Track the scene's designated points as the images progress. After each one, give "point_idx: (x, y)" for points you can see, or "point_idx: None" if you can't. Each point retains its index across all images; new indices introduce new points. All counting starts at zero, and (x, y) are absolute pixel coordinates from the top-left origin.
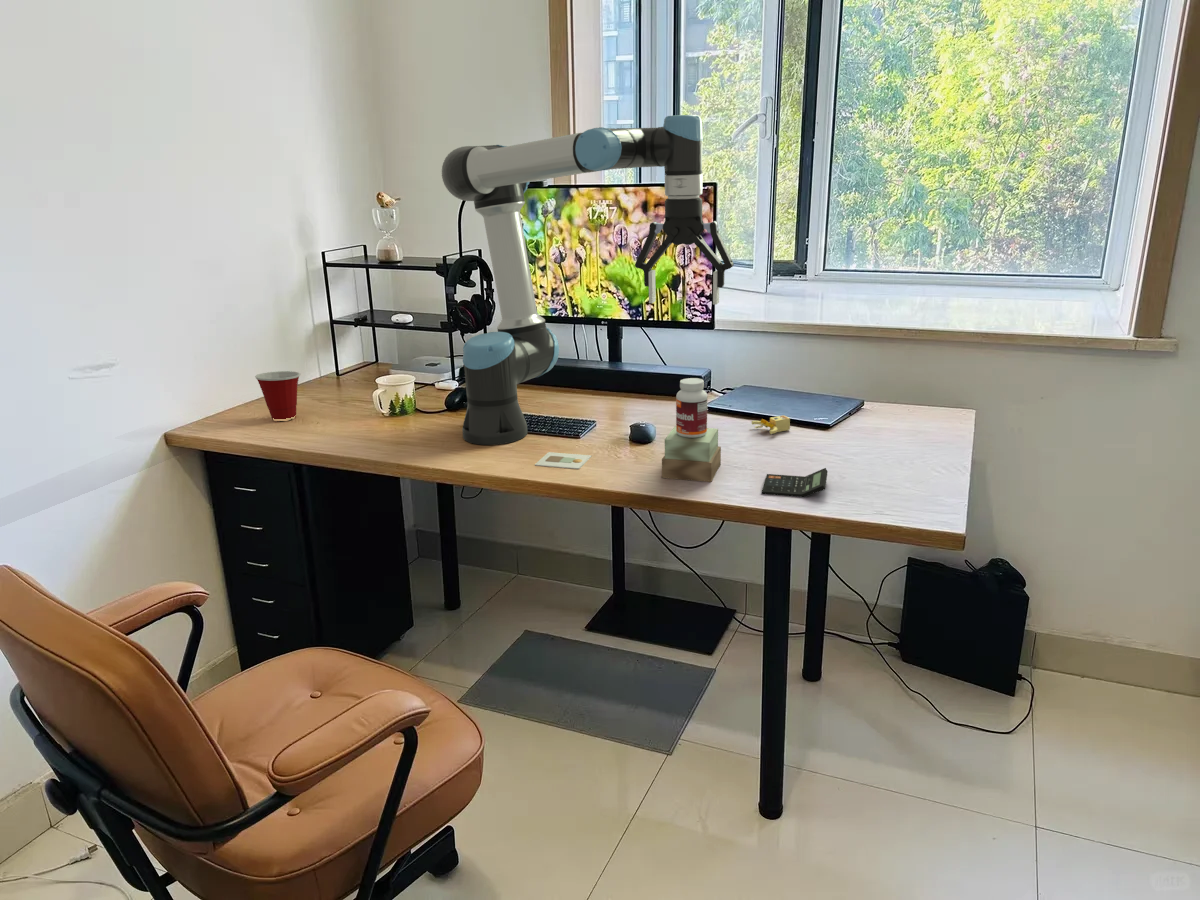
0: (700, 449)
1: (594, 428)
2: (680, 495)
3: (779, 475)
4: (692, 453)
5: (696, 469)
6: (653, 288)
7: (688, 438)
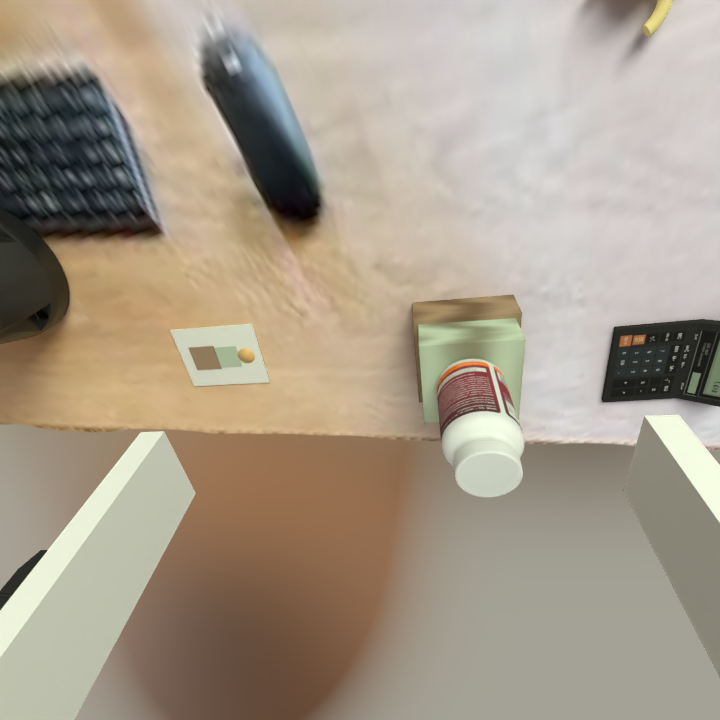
0: None
1: (138, 144)
2: None
3: (643, 330)
4: None
5: None
6: (133, 560)
7: None
